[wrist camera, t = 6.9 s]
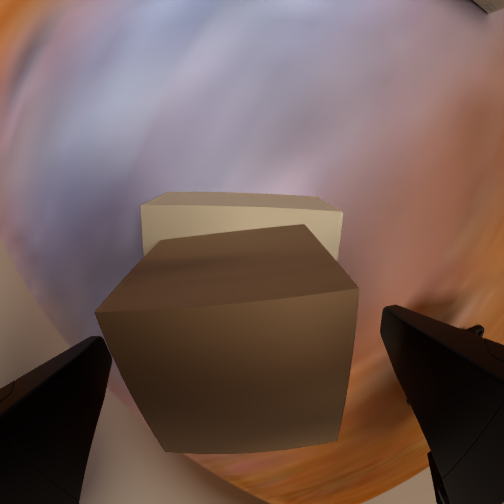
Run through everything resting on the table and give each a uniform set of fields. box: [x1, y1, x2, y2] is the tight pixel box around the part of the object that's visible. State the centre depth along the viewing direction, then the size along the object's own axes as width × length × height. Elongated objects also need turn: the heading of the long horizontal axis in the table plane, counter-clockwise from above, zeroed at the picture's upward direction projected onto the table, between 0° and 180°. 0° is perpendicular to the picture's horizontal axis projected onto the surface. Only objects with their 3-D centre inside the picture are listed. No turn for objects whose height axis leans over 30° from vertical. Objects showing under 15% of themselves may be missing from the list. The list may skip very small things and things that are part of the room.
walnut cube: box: [95, 224, 359, 454], centre depth 8 cm, size 5×5×5 cm
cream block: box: [141, 192, 343, 261], centre depth 12 cm, size 7×7×4 cm
